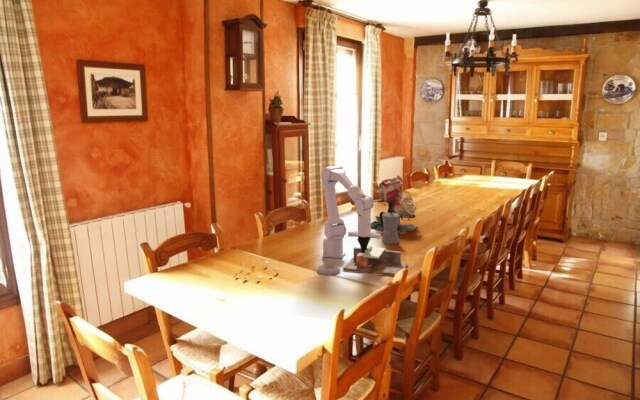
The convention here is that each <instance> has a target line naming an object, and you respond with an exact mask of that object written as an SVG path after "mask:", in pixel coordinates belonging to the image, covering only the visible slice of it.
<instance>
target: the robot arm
mask: <svg viewBox="0 0 640 400" xmlns="http://www.w3.org/2000/svg"><path fill="white" fill-rule="evenodd" d="M320 176H321V177H320V178H321V183H322V184H321V185H322V187H323V193H324V199H325V200H324V201H325V205H326V206H325V207H326V212H327V213H326V214H327V220H326V221H325V222H324V224H323V225H324V230H323V231H324V236H325V237H323V241H322V257H324V258H332V259H333V258H334V259H342V258H343V257H344V255H346V252H343V251H344V246H343V245H344V242H343V241H344V240H343V239H344V238H345V235H347V237H355V238H357V241H358V243H359V245H360V246H359V247H360V248H361V250H362V253H365V250H366V249H367V248H368V247H369V243H370V241H371V239H376V240H380V239H381V233H375V232H372V231H371V230H372V229H371V223H372V222H371V221H372V219H371V218H372V217H371V215H372V214H371V213H372V209H373V208H374V206H375V205H374V203H375V202H373V201H374V200H373V198H372V197H371V196H370V195H369V196H368V195H366V194H365V193H364V192H363V191H362V189H361V188H360V187H359V185H354V184H353V182H352V181H351V179H350V178H349V177H348V175H347V174H346V169H345V168H344V167H343V166H342V165H337V166H336V165H335V166H334V165H333V166H324V167H323V168H322V170H321V171H320ZM337 183H340V184H341V185H342V186H343V187H344V189H346V190H347V195H348V197H350V199H351V200H352V201H353V202H354V207H355V209H356V214H357V231H348V232H347V228H346V227H347V226H346V225H345V221H344V220H343V219H341V218H340V212H339V207H338V201H337V194H336V188H335V186H336V184H337ZM347 233H348V234H347Z"/></svg>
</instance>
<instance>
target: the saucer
mask: <svg viewBox="0 0 640 400" xmlns="http://www.w3.org/2000/svg"><path fill="white" fill-rule="evenodd" d="M316 270H317V271H316V272H317V273H318V274H319V273H320V274H319V275H322V274H323V276H334V275H337V274H339V273H340V272H341V269H340V267H338V266H337V265H332V264H331V265H329V264H326V265H321V266H318V268H317V269H316Z"/></svg>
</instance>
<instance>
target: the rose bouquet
mask: <svg viewBox="0 0 640 400" xmlns="http://www.w3.org/2000/svg"><path fill="white" fill-rule="evenodd" d="M402 186H403V182H402V181H401V180H400V178H398V177H393V178H392V179H389V180H387V181H384V180H383V182H381V183H379V187H380V188H378V189H374V191H375V192H376V193H377V196H378V197H379V198H380V200H373V202H374V203H384V204H383V206H388V207H387V213H390V209H392V213H397V214H399V215H400V219H399V223H398V227H397V231H398V234H399V235H403V234H408V232H407V231H409V232H410V231H413V230H415V229H416V228H417V226H418V225H417V224H413V223H409V224H406V223H405V224H404V223H401V220H402V221H404V219H407V221H411V219H415V218H416V214H415V213H416V211H417V203H414V200H413V197H412V196H411V194H409V193H405V192H403V188H402ZM385 203H387V204H385ZM375 219H376V220H374V221H372V222H371V230H374V231H377V232H384V227H383V226H382V224H381V220H380V215H376V216H375Z"/></svg>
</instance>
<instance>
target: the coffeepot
mask: <svg viewBox="0 0 640 400" xmlns="http://www.w3.org/2000/svg"><path fill="white" fill-rule="evenodd" d="M387 212H388V211H387ZM387 212H386V211H380V213H379V215H378V216H379V217H380V220H381V224H382V226H383V227H384V231H382V232H383V233H382V236H381V242H382V243H383V244H385V245H396V244H399V242H400V239H399V233H398V231H397V227H398V223H399V219H400V220H401V217H400V215H399V214H397V213H392V209H390V213H387Z"/></svg>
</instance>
